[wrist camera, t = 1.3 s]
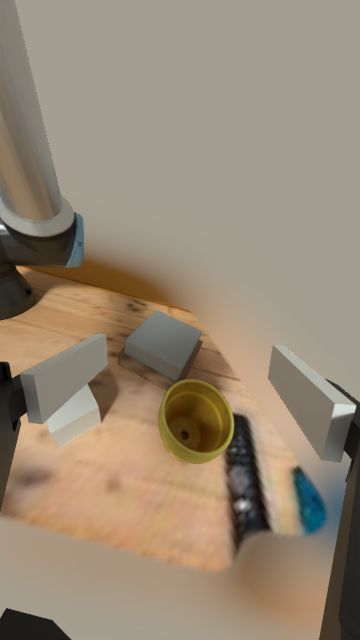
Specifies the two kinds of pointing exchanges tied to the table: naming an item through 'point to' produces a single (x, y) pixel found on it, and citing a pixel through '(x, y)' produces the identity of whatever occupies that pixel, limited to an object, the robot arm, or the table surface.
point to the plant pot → (195, 421)
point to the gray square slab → (163, 344)
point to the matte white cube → (74, 417)
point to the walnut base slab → (151, 373)
